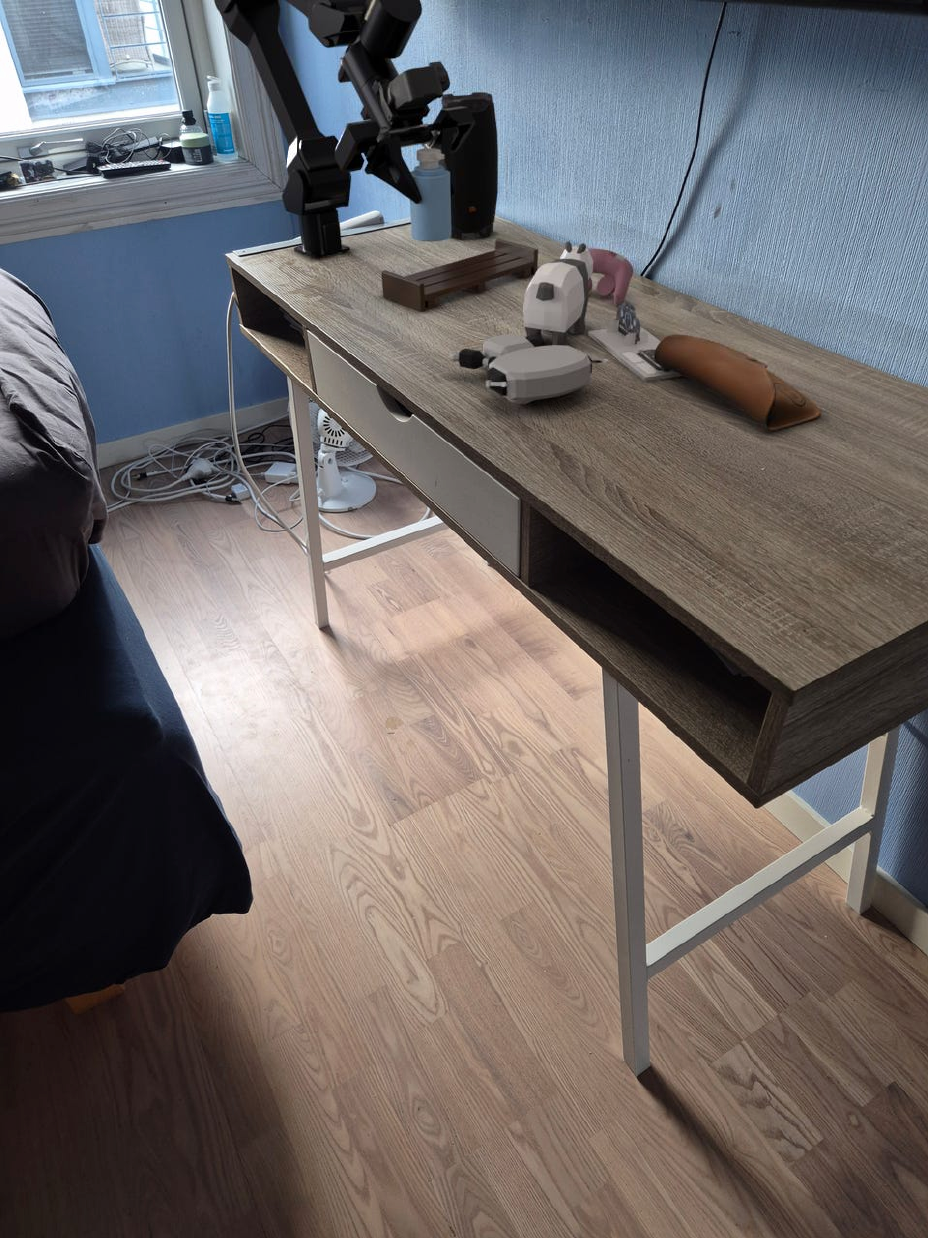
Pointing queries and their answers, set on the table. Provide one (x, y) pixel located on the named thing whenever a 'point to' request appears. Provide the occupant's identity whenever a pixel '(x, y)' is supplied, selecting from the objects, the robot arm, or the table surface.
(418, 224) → the bottle
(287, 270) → the table surface
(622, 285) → the video game controller
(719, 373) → the sunglasses case
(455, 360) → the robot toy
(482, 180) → the portable speaker
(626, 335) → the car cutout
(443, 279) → the rack
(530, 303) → the giant panda
